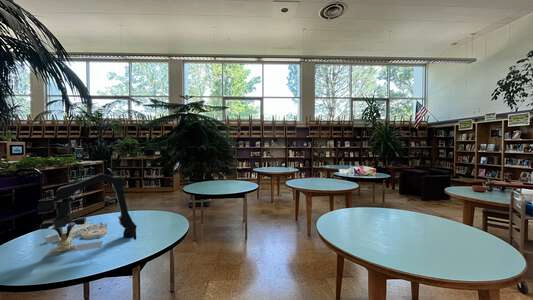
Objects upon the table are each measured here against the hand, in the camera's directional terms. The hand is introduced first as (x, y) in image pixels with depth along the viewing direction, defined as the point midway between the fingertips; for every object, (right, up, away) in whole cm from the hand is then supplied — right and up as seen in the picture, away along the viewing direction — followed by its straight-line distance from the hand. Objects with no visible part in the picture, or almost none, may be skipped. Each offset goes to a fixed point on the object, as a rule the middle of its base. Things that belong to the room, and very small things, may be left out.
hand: (64, 238), depth 132 cm
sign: (-6, -8, +25) cm, 27 cm away
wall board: (+4, -8, +2) cm, 9 cm away
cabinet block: (0, -6, 0) cm, 6 cm away
